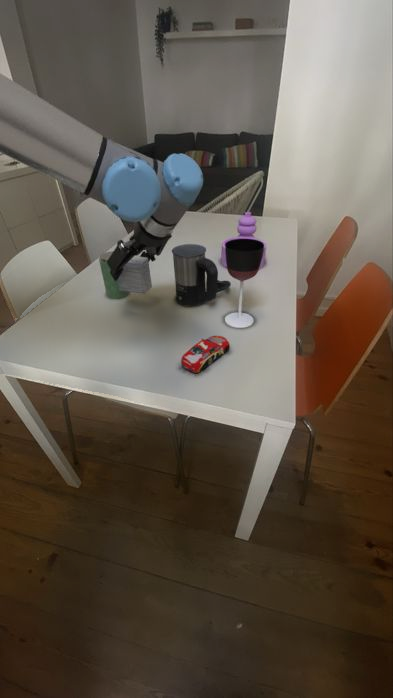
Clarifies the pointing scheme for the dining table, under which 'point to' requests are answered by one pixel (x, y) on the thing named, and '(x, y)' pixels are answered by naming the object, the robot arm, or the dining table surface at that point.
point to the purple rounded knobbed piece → (244, 235)
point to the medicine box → (136, 276)
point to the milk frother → (195, 275)
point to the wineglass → (242, 272)
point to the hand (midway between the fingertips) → (126, 271)
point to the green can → (110, 278)
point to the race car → (204, 353)
